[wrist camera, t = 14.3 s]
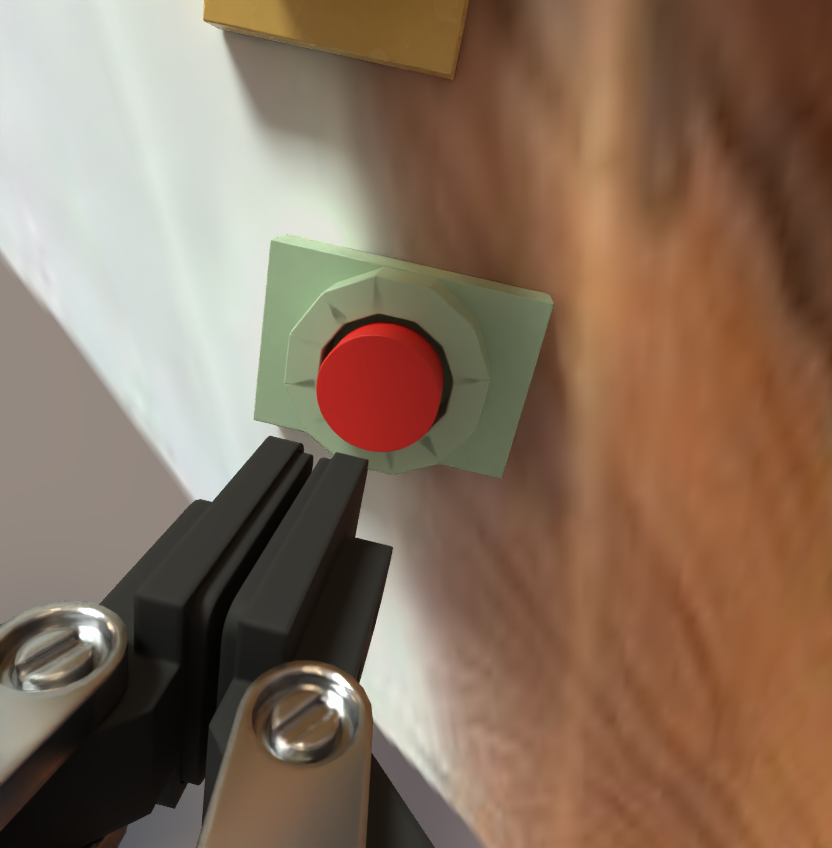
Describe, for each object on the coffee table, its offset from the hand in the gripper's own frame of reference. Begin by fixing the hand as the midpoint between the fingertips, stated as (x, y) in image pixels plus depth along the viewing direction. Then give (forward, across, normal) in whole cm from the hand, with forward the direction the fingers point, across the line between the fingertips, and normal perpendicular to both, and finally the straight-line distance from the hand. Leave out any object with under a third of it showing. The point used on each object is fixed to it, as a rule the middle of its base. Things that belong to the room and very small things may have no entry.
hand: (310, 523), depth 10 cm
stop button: (+11, 0, +1) cm, 11 cm away
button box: (+14, 0, +1) cm, 14 cm away
